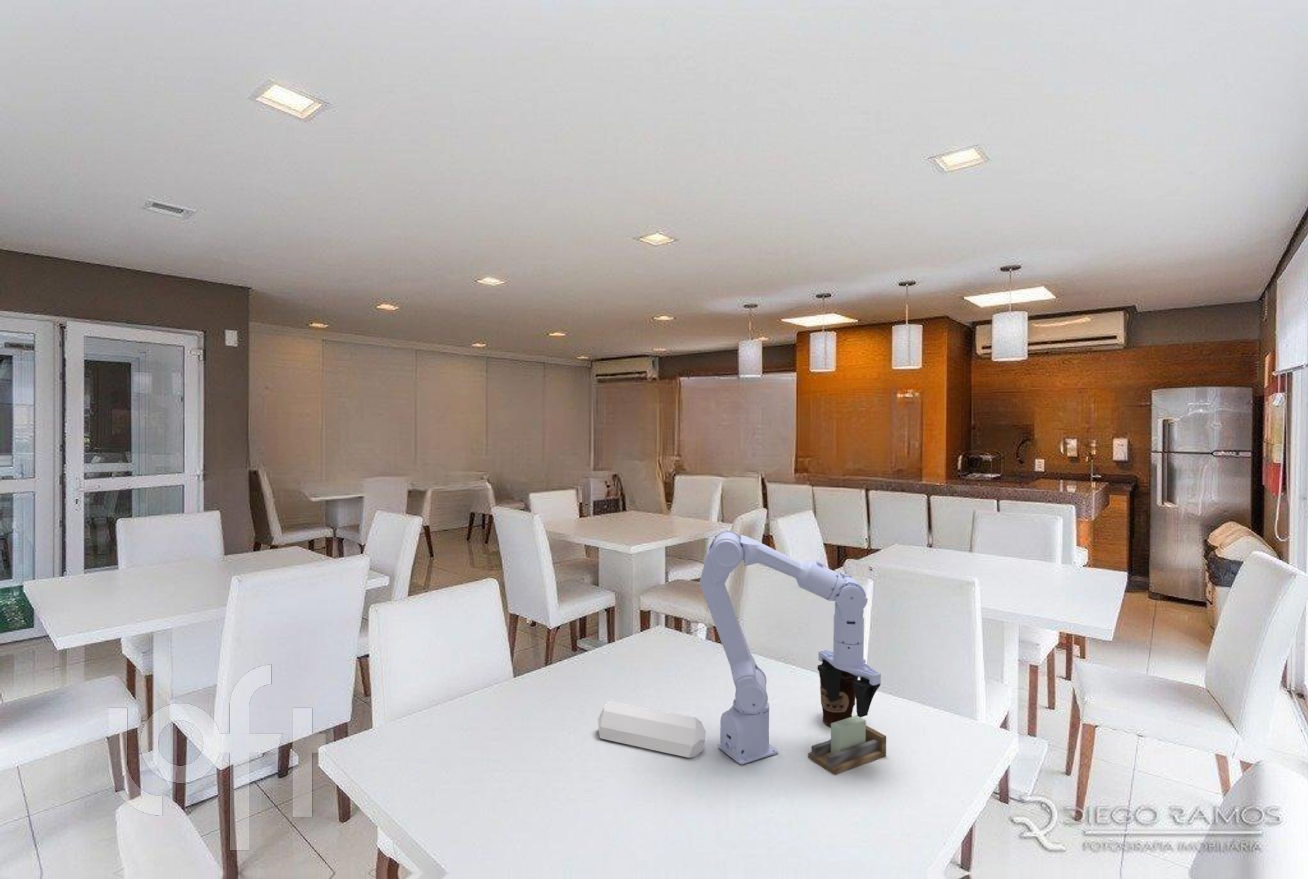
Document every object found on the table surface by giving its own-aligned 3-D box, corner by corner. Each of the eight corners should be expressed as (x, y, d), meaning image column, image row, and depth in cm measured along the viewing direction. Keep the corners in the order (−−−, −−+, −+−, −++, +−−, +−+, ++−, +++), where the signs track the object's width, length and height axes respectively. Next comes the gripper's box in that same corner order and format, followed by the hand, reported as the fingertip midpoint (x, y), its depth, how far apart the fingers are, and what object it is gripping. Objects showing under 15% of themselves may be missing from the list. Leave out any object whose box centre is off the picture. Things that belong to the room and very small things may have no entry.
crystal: (586, 724, 133) (696, 748, 124) (600, 695, 139) (706, 716, 130) (595, 747, 137) (702, 771, 128) (608, 718, 143) (712, 739, 133)
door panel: (839, 758, 125) (840, 728, 125) (830, 753, 127) (831, 723, 127) (865, 749, 129) (865, 720, 129) (856, 744, 131) (856, 715, 131)
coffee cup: (849, 736, 136) (849, 675, 136) (811, 724, 141) (812, 666, 141) (863, 720, 143) (864, 663, 143) (827, 710, 148) (827, 654, 148)
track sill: (834, 774, 121) (834, 753, 121) (808, 757, 128) (808, 737, 127) (886, 755, 128) (886, 736, 128) (859, 740, 134) (859, 721, 134)
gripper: (892, 647, 123) (891, 718, 123) (836, 626, 136) (835, 690, 136) (865, 654, 119) (865, 726, 120) (811, 631, 132) (810, 697, 132)
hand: (847, 707), depth 128 cm, fingers open, 7 cm apart
